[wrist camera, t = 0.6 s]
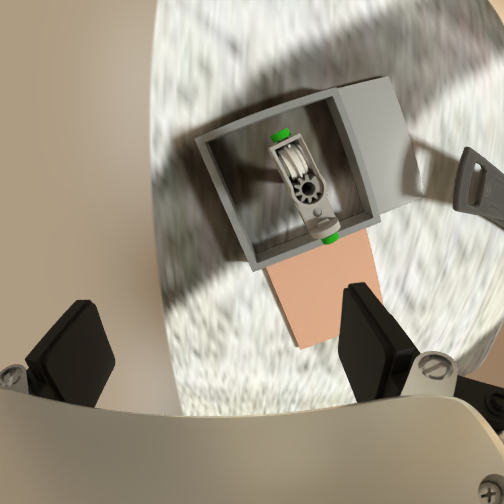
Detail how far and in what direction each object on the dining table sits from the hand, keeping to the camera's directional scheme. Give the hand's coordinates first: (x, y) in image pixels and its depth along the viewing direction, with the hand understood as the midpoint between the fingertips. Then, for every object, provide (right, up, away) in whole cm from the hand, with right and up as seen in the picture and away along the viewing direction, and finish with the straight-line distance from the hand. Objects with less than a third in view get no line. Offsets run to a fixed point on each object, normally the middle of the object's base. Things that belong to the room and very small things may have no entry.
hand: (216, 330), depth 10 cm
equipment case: (+9, +13, +22) cm, 27 cm away
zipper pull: (+37, +12, +23) cm, 45 cm away
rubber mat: (+11, -2, +27) cm, 29 cm away
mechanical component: (+6, +11, +22) cm, 26 cm away
